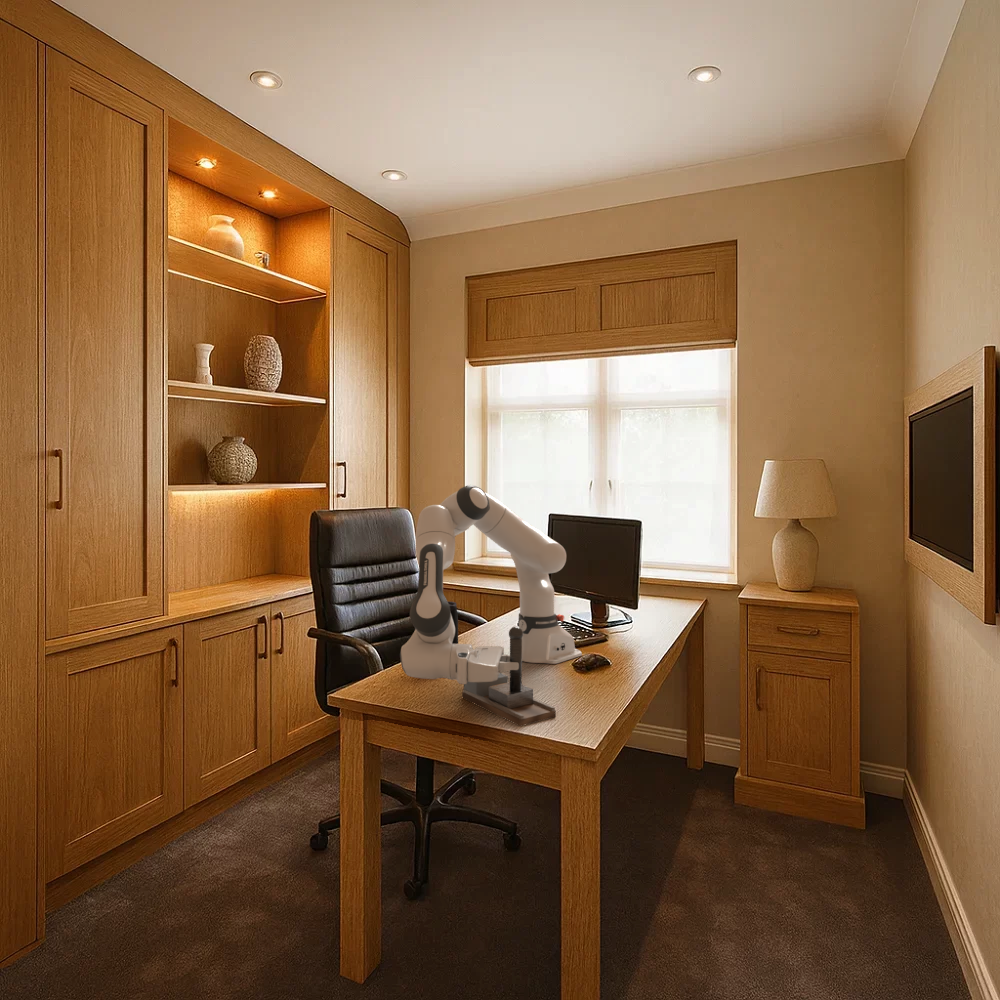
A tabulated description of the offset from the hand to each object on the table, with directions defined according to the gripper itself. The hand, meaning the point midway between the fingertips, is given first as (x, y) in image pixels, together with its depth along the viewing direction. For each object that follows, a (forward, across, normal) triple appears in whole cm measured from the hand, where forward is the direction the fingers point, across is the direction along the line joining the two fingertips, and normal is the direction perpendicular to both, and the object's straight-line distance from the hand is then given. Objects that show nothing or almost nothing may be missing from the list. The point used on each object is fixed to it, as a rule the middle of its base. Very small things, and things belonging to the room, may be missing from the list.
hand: (519, 663), depth 173 cm
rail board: (-3, -3, -12) cm, 13 cm away
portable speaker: (-25, -37, -12) cm, 47 cm away
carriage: (-2, -1, -10) cm, 11 cm away
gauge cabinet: (-9, -10, -10) cm, 17 cm away
